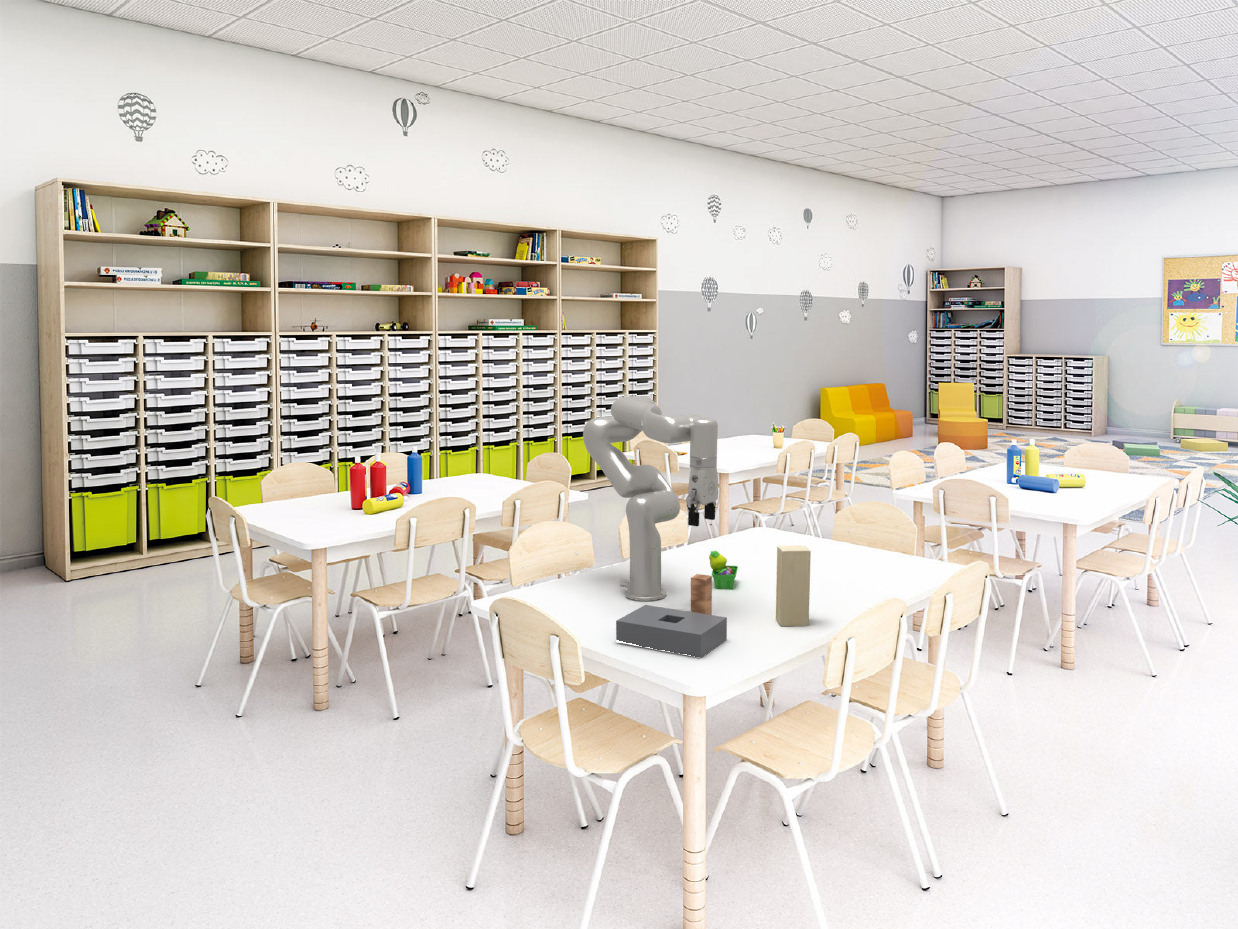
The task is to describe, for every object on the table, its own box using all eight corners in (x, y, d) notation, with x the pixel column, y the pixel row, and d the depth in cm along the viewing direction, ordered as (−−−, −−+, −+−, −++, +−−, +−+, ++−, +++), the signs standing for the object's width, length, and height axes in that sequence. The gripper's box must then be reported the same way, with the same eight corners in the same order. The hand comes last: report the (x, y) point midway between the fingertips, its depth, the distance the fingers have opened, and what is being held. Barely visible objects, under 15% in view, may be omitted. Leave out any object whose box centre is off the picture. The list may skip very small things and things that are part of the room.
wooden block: (690, 623, 253) (690, 577, 252) (697, 619, 257) (697, 574, 255) (705, 625, 251) (705, 579, 249) (711, 621, 255) (711, 575, 253)
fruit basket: (736, 590, 285) (736, 555, 284) (707, 589, 287) (707, 554, 285) (737, 581, 297) (738, 547, 295) (710, 580, 298) (710, 546, 297)
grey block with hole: (616, 643, 238) (616, 620, 237) (645, 626, 252) (645, 604, 251) (700, 658, 226) (700, 634, 225) (726, 639, 240) (726, 617, 239)
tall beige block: (803, 617, 257) (804, 544, 254) (809, 626, 250) (810, 550, 247) (775, 618, 257) (775, 545, 254) (780, 626, 250) (781, 551, 247)
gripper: (700, 468, 247) (699, 530, 250) (729, 459, 262) (727, 518, 264) (676, 465, 251) (675, 526, 254) (705, 457, 266) (703, 515, 268)
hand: (701, 522), depth 259 cm, fingers open, 9 cm apart
